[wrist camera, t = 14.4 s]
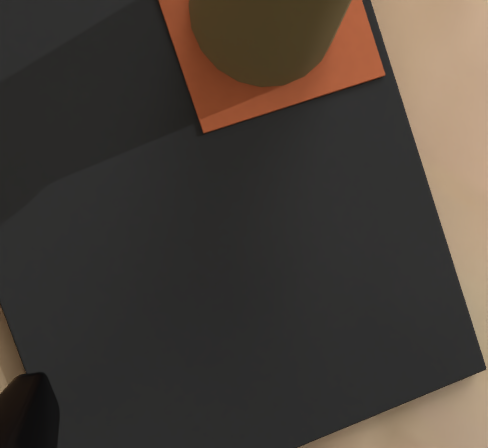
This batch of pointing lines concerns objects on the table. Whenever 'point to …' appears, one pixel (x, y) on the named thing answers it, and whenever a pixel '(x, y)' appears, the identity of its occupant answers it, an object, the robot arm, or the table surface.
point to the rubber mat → (215, 234)
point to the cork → (266, 36)
